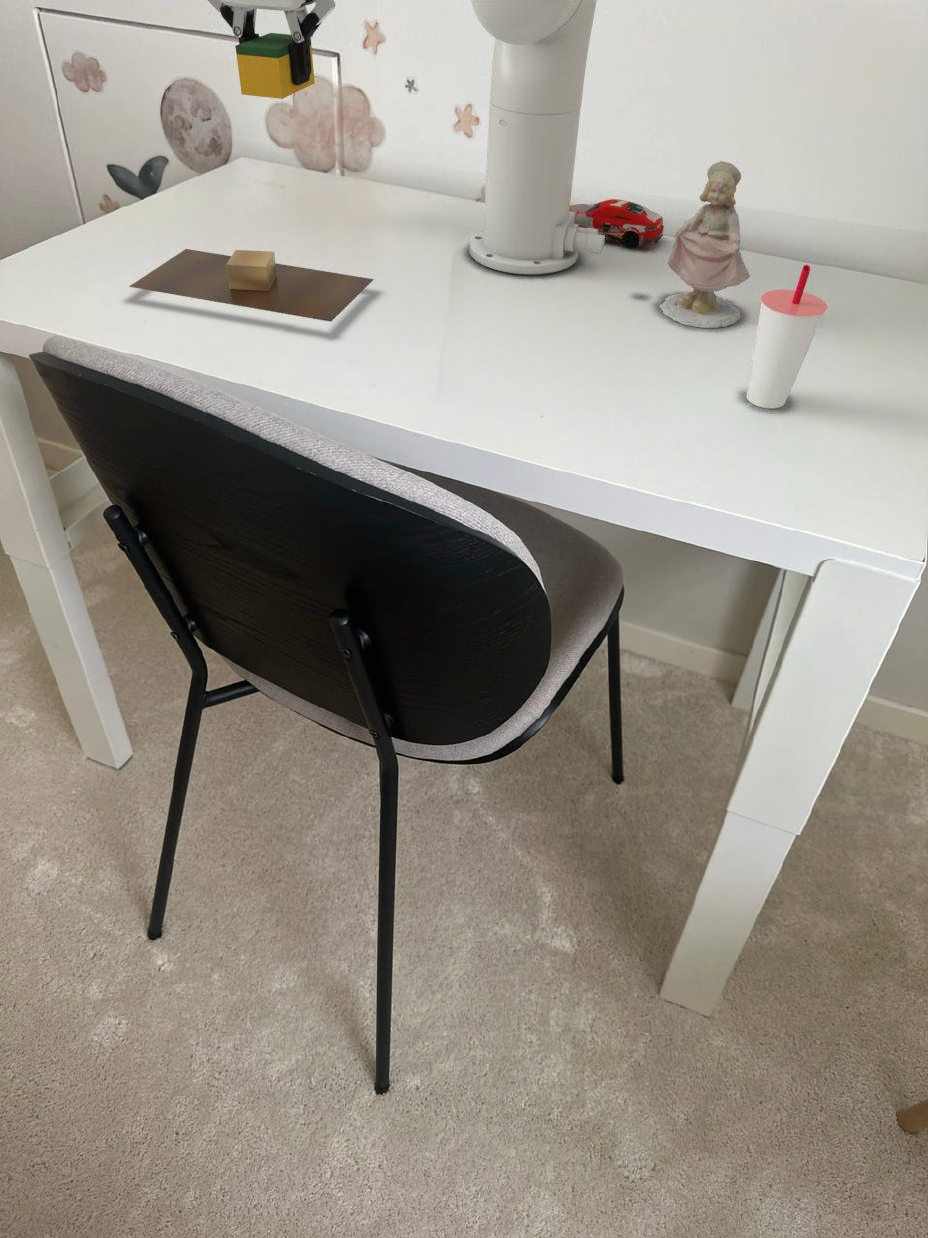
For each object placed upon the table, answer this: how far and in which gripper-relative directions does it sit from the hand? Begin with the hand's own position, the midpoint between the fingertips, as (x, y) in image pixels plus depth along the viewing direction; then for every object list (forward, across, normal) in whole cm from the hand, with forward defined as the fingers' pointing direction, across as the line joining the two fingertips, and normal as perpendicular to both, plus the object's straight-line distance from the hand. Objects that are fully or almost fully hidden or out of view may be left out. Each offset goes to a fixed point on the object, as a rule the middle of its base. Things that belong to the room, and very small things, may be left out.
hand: (277, 78), depth 99 cm
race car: (+16, +37, +10) cm, 42 cm away
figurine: (+16, +50, -7) cm, 53 cm away
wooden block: (+14, +7, -22) cm, 27 cm away
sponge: (+1, 0, 0) cm, 1 cm away
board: (+15, +7, -22) cm, 28 cm away
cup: (+16, +59, -24) cm, 66 cm away
